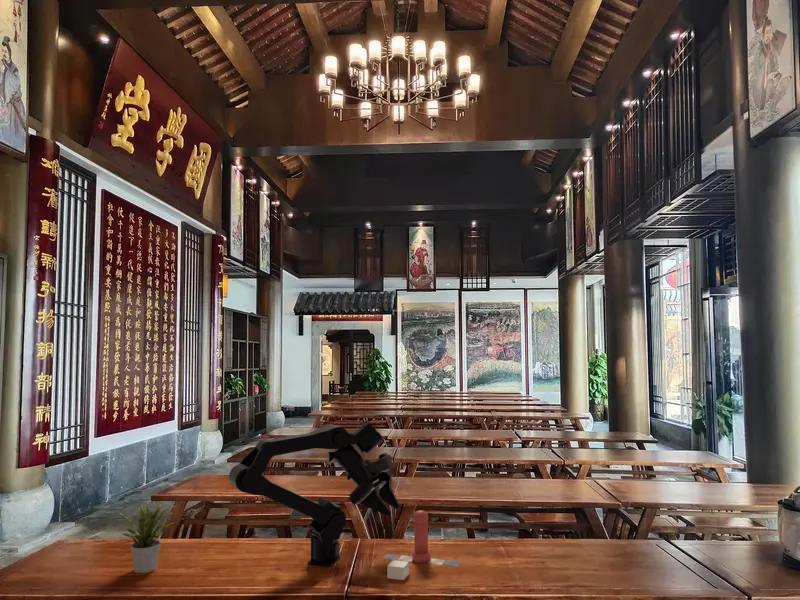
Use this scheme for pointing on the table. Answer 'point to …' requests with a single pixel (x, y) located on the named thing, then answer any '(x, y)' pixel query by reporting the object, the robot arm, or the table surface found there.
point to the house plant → (146, 539)
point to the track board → (432, 561)
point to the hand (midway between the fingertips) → (394, 511)
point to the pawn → (421, 538)
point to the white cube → (398, 570)
